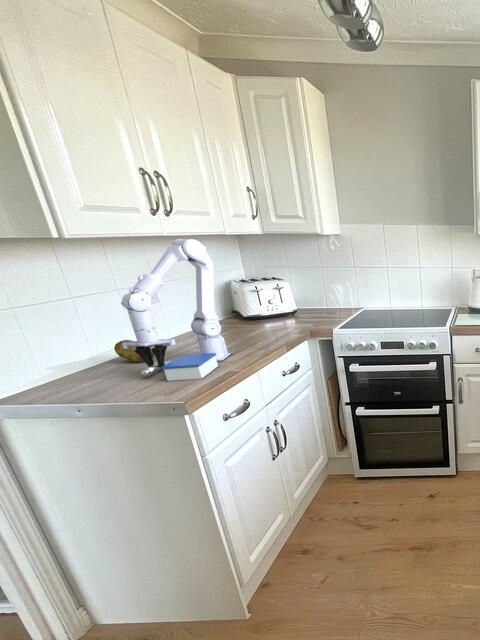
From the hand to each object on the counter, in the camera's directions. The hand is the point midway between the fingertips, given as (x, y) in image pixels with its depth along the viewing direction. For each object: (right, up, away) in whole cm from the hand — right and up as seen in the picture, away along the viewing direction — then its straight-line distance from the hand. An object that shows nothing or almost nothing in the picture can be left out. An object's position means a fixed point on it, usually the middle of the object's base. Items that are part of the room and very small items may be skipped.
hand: (156, 366), depth 146 cm
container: (+14, -2, -1) cm, 14 cm away
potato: (-19, +2, +13) cm, 23 cm away
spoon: (0, -1, 0) cm, 1 cm away
